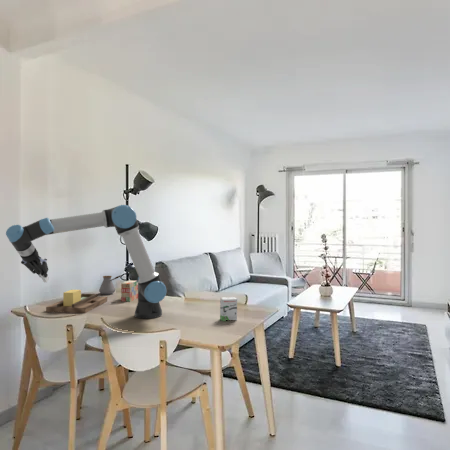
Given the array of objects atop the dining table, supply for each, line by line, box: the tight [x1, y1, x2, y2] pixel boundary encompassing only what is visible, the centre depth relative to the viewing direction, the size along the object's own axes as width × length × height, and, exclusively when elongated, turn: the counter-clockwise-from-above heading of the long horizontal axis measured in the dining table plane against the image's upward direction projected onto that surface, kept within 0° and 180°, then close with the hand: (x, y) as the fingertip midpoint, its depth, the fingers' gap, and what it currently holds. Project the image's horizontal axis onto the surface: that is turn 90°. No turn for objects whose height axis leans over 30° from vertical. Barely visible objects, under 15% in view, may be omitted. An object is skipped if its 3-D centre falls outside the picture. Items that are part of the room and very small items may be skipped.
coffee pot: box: [98, 274, 124, 296], centre depth 278 cm, size 21×12×15 cm, turn 58°
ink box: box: [219, 296, 238, 322], centre depth 208 cm, size 9×5×12 cm, turn 103°
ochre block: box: [62, 289, 82, 306], centre depth 231 cm, size 6×10×8 cm, turn 175°
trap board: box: [45, 293, 108, 314], centre depth 239 cm, size 24×32×5 cm
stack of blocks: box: [120, 279, 138, 303], centre depth 264 cm, size 21×6×12 cm, turn 170°
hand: (46, 280), depth 203 cm, fingers closed
